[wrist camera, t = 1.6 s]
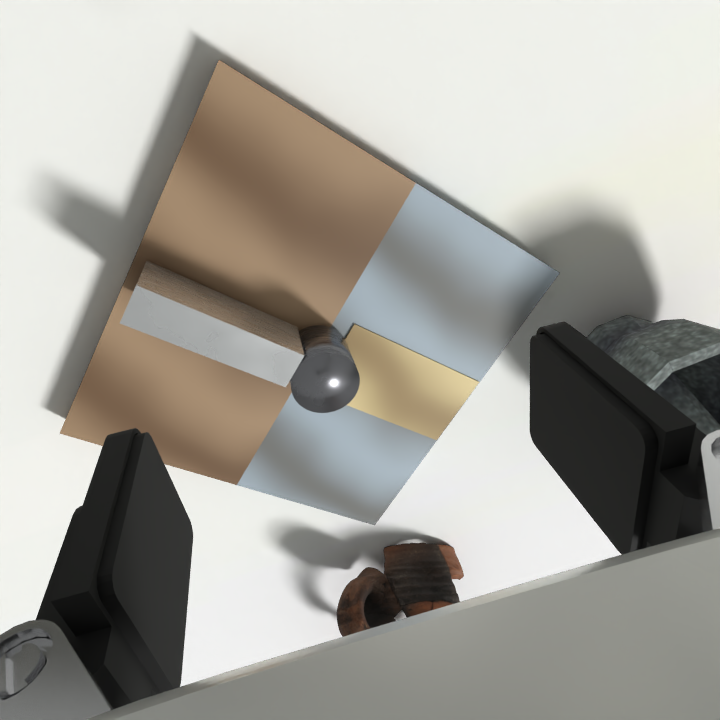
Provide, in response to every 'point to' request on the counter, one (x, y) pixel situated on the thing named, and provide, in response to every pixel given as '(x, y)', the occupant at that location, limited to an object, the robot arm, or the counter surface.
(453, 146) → the counter surface
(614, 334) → the mortar and pestle
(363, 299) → the latch board
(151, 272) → the bar
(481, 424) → the counter surface
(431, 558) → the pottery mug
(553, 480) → the counter surface
